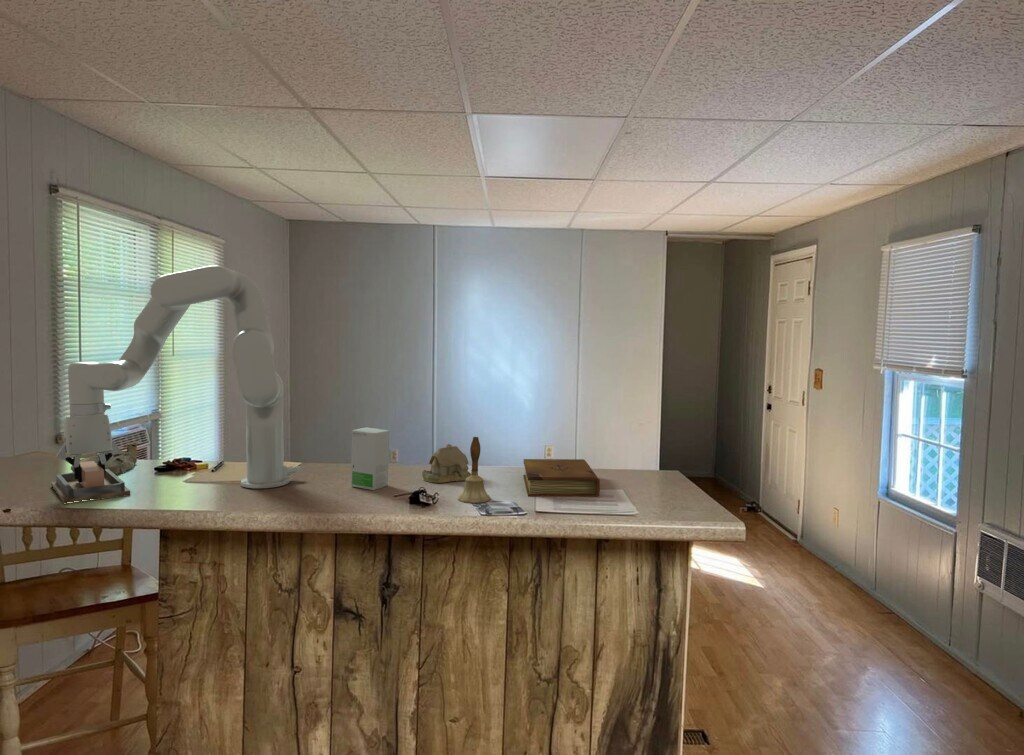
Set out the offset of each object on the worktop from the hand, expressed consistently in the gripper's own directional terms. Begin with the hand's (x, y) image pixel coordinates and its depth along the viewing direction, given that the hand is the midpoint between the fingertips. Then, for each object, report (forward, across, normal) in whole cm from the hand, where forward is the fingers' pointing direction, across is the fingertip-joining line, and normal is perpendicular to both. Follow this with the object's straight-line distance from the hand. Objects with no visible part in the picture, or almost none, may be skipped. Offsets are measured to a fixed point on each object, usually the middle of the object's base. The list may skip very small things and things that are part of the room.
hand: (90, 479), depth 172 cm
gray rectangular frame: (+3, 0, 0) cm, 3 cm away
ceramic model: (+4, -81, +46) cm, 93 cm away
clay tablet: (+4, -9, -26) cm, 28 cm away
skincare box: (+3, -59, +40) cm, 71 cm away
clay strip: (+1, 0, 0) cm, 1 cm away
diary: (+4, -100, +72) cm, 123 cm away
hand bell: (+3, -73, +68) cm, 100 cm away
